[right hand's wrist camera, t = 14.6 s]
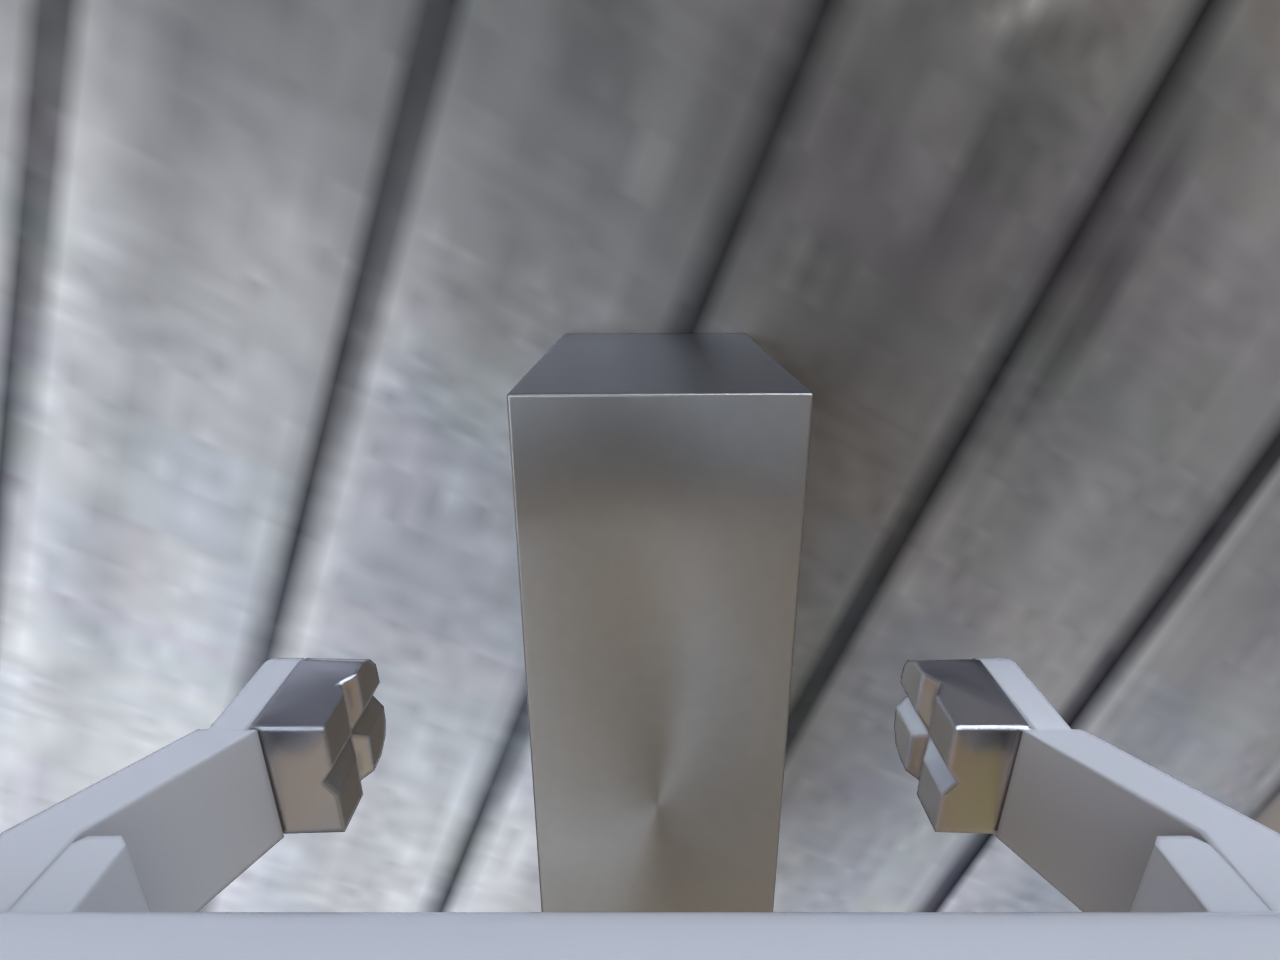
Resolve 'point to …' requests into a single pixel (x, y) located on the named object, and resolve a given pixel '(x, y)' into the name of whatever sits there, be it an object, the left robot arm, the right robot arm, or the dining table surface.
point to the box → (658, 614)
